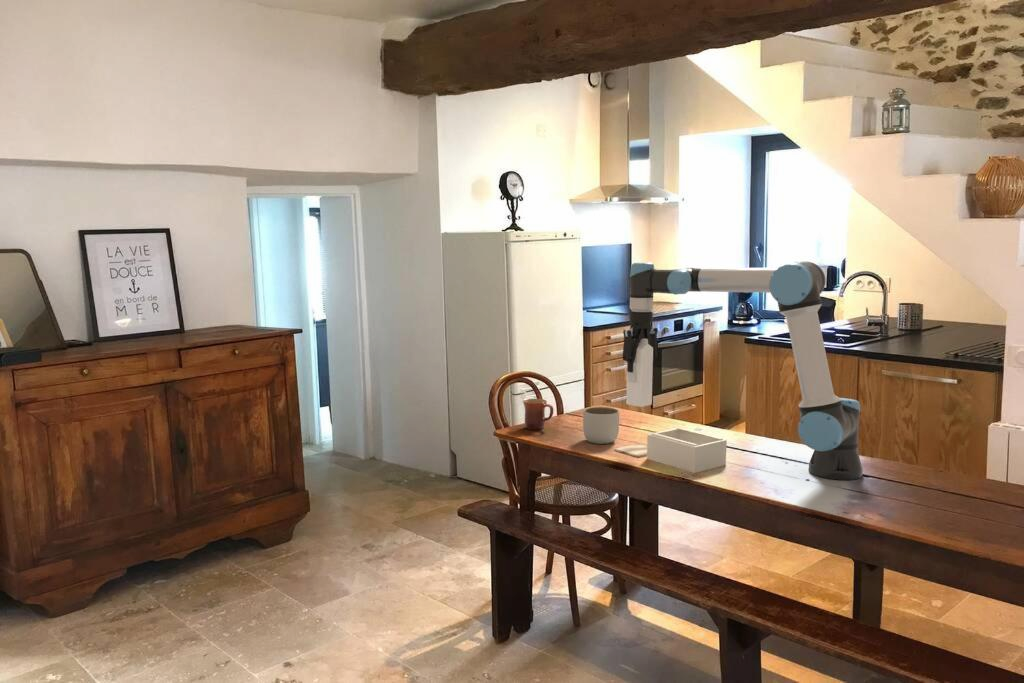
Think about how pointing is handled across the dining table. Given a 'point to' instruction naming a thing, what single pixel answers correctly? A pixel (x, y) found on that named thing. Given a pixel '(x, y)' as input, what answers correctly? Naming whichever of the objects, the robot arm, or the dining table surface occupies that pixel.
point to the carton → (686, 449)
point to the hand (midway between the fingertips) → (639, 380)
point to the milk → (641, 377)
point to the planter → (601, 424)
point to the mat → (633, 450)
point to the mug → (536, 413)
